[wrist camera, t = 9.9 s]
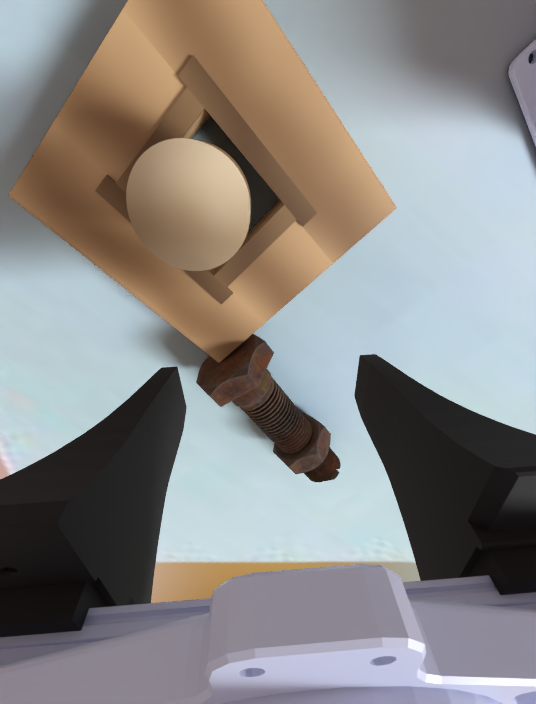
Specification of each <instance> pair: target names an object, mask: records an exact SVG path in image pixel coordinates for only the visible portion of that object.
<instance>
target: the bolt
mask: <svg viewBox="0 0 536 704" xmlns="http://www.w3.org/2000/svg"><path fill="white" fill-rule="evenodd" d="M273 354H274V352H273V351H272V350H271V348H270V347H269V346H268V345H267V343H266V342H265V341H264V340H262V339H261V338H259V337H258V336H256V335H254V334H252V335H251V336H249V337H248V338H247V339H246V340H245V341H244V342H243V343H241V344H240V345H239V346H238V347H237V348H236V349H235V350H233V351H232V352H231V353H230V354H229V355H228V356H226V357H225V358H224V359H223V360H222V361H221V362H220V363H218V362H217V361H216V360H215V359H213V358H212V357H211V356H209V357H208V358H207V359H206V360H205V361H204V362H203V364H202V366H201V368H200V370H199V373H198V377H197V382H196V383H197V384H198V385H199V386H200V387H201V388H202V389H203V390H204V391H205V392H206V393H207V394H208V395H209V396H210V397H211V398H212V399H213V400H214V401H215V402H216V403H217V404H218V405H219V406H220V407H221V406H223V405H225V404H227V403H229V402H230V401H232V402H233V403H234V404H235V405H237V406H239V407H240V408H241V409H242V410H243V411H244V412H245V413H246V414H247V415H248V416H249V417H250V418H251V419H252V420H253V422H255V423H256V425H258V427H259V428H261V430H262V431H263V432H265V434H266V435H267V436H268V437H269V438H270V439H271V440H272V441H273V442H274V449H273V452H274V453H275V454H276V455H277V456H278V457H279V458H280V459H281V460H282V461H283V462H284V463H285V464H286V465H287V466H288V467H289V468H290V469H291V470H292V471H293V472H294V473H295V474H300V473H304V474H305V475H306V476H307V477H308V478H309V479H310V480H311V481H314V482H323V481H328V480H333V479H335V478H336V477H337V476H338V474H339V472H338V470H336V469H340V460H339V458H338V457H337V456H336V454H335V453H334V452H333V451H332V450H331V449H330V447H329V446H330V437H331V434H330V433H329V431H328V430H327V429H326V428H325V426H323V425H322V424H321V423H320V422H318V421H317V420H316V419H314V418H313V417H311V416H309V415H303V414H302V413H301V412H300V411H299V410H298V408H297V407H296V406H295V405H294V403H293V402H292V401H291V400H290V399H289V397H288V396H287V395H286V394H285V393H284V391H283V390H282V389H281V388H280V386H279V385H278V384H277V383H276V381H275V380H274V379H273V378H272V376H271V374H270V372H269V371H268V370H267V369H266V368H267V366H268V364H269V362H270V360H271V358H272V356H273Z"/></svg>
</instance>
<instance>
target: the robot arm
mask: <svg viewBox="0 0 536 704" xmlns="http://www.w3.org/2000/svg"><path fill="white" fill-rule="evenodd" d="M531 52H532V54H533V60H532V62H531V63H529V62H528V58H529V55H530V53H531ZM508 73H509V78H510V81H511V83H512V86H513V88H514V91H515V94H516V96H517V99H518V101H519V104H520V107H521V109H522V112H523V115H524V117H525V120H526V122H527V125H528V128H529V130H530V133H531V136H532V138H533V141H534V143H535V146H536V39H535V40H534V41H533V42H532V43H531V44H530V45H529V46H528V47H527V48H525V49H524V50H523V51H522V52H521V53H520V54H519V55H518V56H517V57H516V58H515V59H514V60H513V61H512V63H511V65H510V67H509V71H508ZM355 399H356V403H357V406H358V409H359V412H360V415H361V418H362V420H363V423H364V425H365V427H366V429H367V431H368V433H369V435H370V437H371V440H372V442H373V444H374V446H375V448H376V450H377V452H378V454H379V456H380V458H381V460H382V463H383V465H384V467H385V469H386V472H387V474H388V477H389V480H390V482H391V485H392V488H393V491H394V494H395V497H396V500H397V503H398V506H399V509H400V512H401V515H402V518H403V521H404V524H405V527H406V531H407V534H408V537H409V541H410V544H411V547H412V551H413V554H414V557H415V561H416V565H417V568H418V572H419V576H420V579H421V581H416V582H402V580H401V577H400V576H399V575H398V574H396V573H394V572H392V571H391V570H388V569H386V568H385V567H383V566H380V565H363V564H359V565H358V564H357V565H345V566H332V567H320V568H307V569H295V570H282V571H270V572H258V573H251V574H246V575H242V576H238V577H232V578H231V579H229V580H228V581H226V582H224V583H223V584H221V585H220V586H218V587H217V588H216V589H215V590H214V591H213V595H212V598H209V599H197V600H184V601H172V602H161V603H151V595H152V586H153V577H154V569H155V562H156V554H157V546H158V540H159V533H160V527H161V520H162V514H163V508H164V502H165V496H166V491H167V487H168V482H169V479H170V475H171V472H172V468H173V465H174V461H175V457H176V454H177V450H178V447H179V443H180V440H181V436H182V432H183V428H184V421H185V414H186V403H185V399H184V395H183V390H182V386H181V381H180V377H179V373H178V368H177V367H166V368H161V369H160V370H158V371H157V372H156V373H155V374H154V375H153V376H152V377H151V378H150V379H149V380H148V381H147V382H146V383H145V384H144V385H143V386H142V387H141V388H140V389H138V390H137V391H136V392H135V393H134V394H133V395H132V396H131V397H130V398H129V399H128V400H126V401H125V402H124V403H123V404H122V405H121V406H119V407H118V408H117V409H116V410H115V411H113V412H112V413H111V414H110V415H109V416H107V417H106V418H105V419H104V420H102V421H101V422H100V423H98V424H97V425H95V426H94V427H93V428H91V429H90V430H88V431H87V432H86V433H84V434H83V435H81V436H80V437H78V438H76V439H75V440H73V441H71V442H70V443H68V444H67V445H65V446H63V447H62V448H60V449H59V450H57V451H55V452H54V453H52V454H50V455H48V456H46V457H45V458H43V459H41V460H39V461H37V462H35V463H33V464H31V465H29V466H28V467H26V468H24V469H22V470H20V471H18V472H16V473H14V474H12V475H9V476H7V477H5V478H3V479H1V480H0V704H536V435H535V434H532V433H529V432H526V431H523V430H520V429H517V428H514V427H511V426H508V425H505V424H503V423H500V422H497V421H495V420H492V419H490V418H487V417H485V416H482V415H480V414H478V413H475V412H473V411H471V410H469V409H466V408H464V407H462V406H460V405H458V404H456V403H454V402H452V401H450V400H448V399H446V398H444V397H442V396H441V395H439V394H437V393H435V392H434V391H432V390H430V389H428V388H427V387H425V386H423V385H422V384H420V383H418V382H417V381H415V380H414V379H412V378H411V377H409V376H407V375H406V374H404V373H403V372H401V371H400V370H398V369H397V368H396V367H394V366H393V365H391V364H390V363H388V362H387V361H385V360H384V359H382V358H381V357H379V356H377V355H375V354H373V355H360V358H359V366H358V374H357V381H356V389H355Z"/></svg>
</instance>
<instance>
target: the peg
mask: <svg viewBox="0 0 536 704" xmlns="http://www.w3.org/2000/svg"><path fill="white" fill-rule="evenodd" d="M126 203H127V210H128V215H129V218H130V221H131V224H132V226H133V228H134V230H135V232H136V234H137V236H138V237H139V239H140V241H141V242H142V243H143V244H144V246H145V247H146V248H147V249H148V250H149V251H150V252H151V253H152V254H153V255H154V256H156V257H157V258H158V259H160V260H161V261H163V262H165V263H166V264H168V265H171V266H173V267H176V268H179V269H182V270H187V271H204V270H209V269H212V268H216V267H218V266H220V265H222V264H224V263H225V262H227V261H228V260H229V259H230V258H232V257H233V256H234V255H235V254H236V252H237V251H238V250H239V249H240V247H241V246H242V244H243V242H244V240H245V238H246V235H247V232H248V229H249V224H250V214H251V195H250V189H249V186H248V182H247V180H246V178H245V175H244V173H243V172H242V170H241V168H240V167H239V165H238V164H237V163H236V161H235V160H234V159H233V158H232V157H231V156H230V155H229V154H228V153H226V152H225V151H224V150H222V149H221V148H219V147H218V146H215V145H213V144H211V143H208V142H205V141H201V140H194V139H187V138H174V139H168V140H165V141H162V142H159V143H157V144H155V145H153V146H152V147H150V148H149V149H148V150H146V151H145V152H144V153H143V154H142V155H141V156H140V157H139V158H138V160H137V161H136V163H135V165H134V166H133V168H132V171H131V173H130V176H129V179H128V183H127V190H126Z"/></svg>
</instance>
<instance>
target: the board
mask: <svg viewBox="0 0 536 704" xmlns="http://www.w3.org/2000/svg"><path fill="white" fill-rule="evenodd" d="M210 116H211V117H212V118H213V119H214V120H215V122H216V123H217V124H218V125H219V126H220V128H221V129H222V130H223V131H224V133H225V134H226V135H227V136H228V137H229V139H230V140H231V141H232V142H233V143H234V145H235V146H236V147H237V148H238V149H239V151H240V152H241V153H242V154H243V155H244V157H245V158H246V159H247V160H248V162H249V163H250V164H251V165H252V166H253V168H254V169H255V170H256V171H257V172H258V174H259V175H260V176H261V177H262V178H263V180H264V181H265V182H266V183H267V184H268V186H269V187H270V188H271V189H272V191H273V192H274V193H275V194H276V195H277V197H278V198H279V199H280V200H279V201H278V202H277V203H276V204H275V205H274V206H273V207H272V208H271V209H270V210H269V211H268V212H267V213H266V214H265V215H264V216H263V217H262V218H261V219H260V220H259V221H258V222H257V223H256V224H255V225H254V226H253V227H252V228H251V229H250V230H249V231H248V232H247V235H246V238H245V240H244V242H243V244H242V246H241V247H240V249H239V250H238V251H237V252H236V254H235V255H234V256H233V257H232V258H230V259H229V260H228V261H227V262H225V263H224V264H222V265H220V266H218V267H216V268H212V269H209V270H204V271H187V270H182V269H179V268H176V267H173V266H171V265H168V264H166V263H165V262H163V261H161V260H160V259H158V258H157V257H156V256H154V255H153V254H152V253H151V252H150V251H149V250H148V249H147V248H146V247H145V246H144V244H143V243H142V242H141V241H140V239H139V237H138V236H137V234H136V232H135V230H134V228H133V226H132V224H131V221H130V218H129V215H128V210H127V203H126V190H127V183H128V179H129V176H130V173H131V171H132V168H133V166H134V165H135V163H136V161H137V160H138V158H139V157H140V156H141V155H142V154H143V153H144V152H145V151H146V150H148V149H149V148H150V147H152V146H153V145H155V144H157V143H159V142H162V141H165V140H168V139H174V138H187V139H193V138H194V136H195V135H196V134H197V132H198V131H199V130H200V129H201V127H202V126H203V125H204V124H205V122H206V121H207V120H208V119H209V117H210ZM8 196H10V197H11V198H12V199H13V200H15V201H16V202H17V203H18V204H20V205H21V206H22V207H23V208H25V209H26V210H27V211H28V212H30V213H31V214H32V215H33V216H35V217H36V218H37V219H38V220H40V221H41V222H42V223H43V224H45V225H46V226H47V227H49V228H50V229H51V230H52V231H54V232H55V233H56V234H57V235H59V236H60V237H61V238H62V239H64V240H65V241H66V242H67V243H69V244H70V245H71V246H72V247H74V248H75V249H76V250H77V251H79V252H80V253H81V254H82V255H84V256H85V257H86V258H88V259H89V260H90V261H91V262H93V263H94V264H95V265H96V266H98V267H99V268H100V269H101V270H103V271H104V272H105V273H106V274H108V275H109V276H110V277H111V278H113V279H114V280H115V281H116V282H118V283H119V284H120V285H121V286H123V287H124V288H125V289H127V290H128V291H129V292H130V293H132V294H133V295H134V296H135V297H137V298H138V299H139V300H140V301H142V302H143V303H144V304H145V305H147V306H148V307H149V308H150V309H152V310H153V311H154V312H155V313H157V314H158V315H159V316H160V317H162V318H163V319H164V320H165V321H167V322H168V323H169V324H171V325H172V326H173V327H174V328H176V329H177V330H178V331H179V332H181V333H182V334H183V335H184V336H186V337H187V338H188V339H189V340H191V341H192V342H193V343H194V344H196V345H197V346H198V347H199V348H201V349H202V350H203V351H204V352H206V353H207V354H208V355H210V356H211V357H212V358H213V359H215V360H216V361H217V362H218V363H220V362H221V361H222V360H223V359H224V358H225V357H226V356H228V355H229V354H230V353H231V352H232V351H233V350H235V349H236V348H237V347H238V346H239V345H240V344H241V343H243V342H244V341H245V340H246V339H247V338H248V337H249V336H251V335H252V334H253V333H254V332H255V331H256V330H257V329H259V328H260V327H261V326H262V325H263V324H264V323H265V322H267V321H268V320H269V319H270V318H271V317H272V316H273V315H275V314H276V313H277V312H278V311H279V310H280V309H281V308H283V307H284V306H285V305H286V304H287V303H288V302H290V301H291V300H292V299H293V298H294V297H295V296H296V295H298V294H299V293H300V292H301V291H302V290H303V289H304V288H306V287H307V286H308V285H309V284H310V283H311V282H312V281H314V280H315V279H316V278H317V277H318V276H319V275H320V274H322V273H323V272H324V271H325V270H326V269H327V268H328V267H330V266H331V265H332V264H333V263H334V262H335V261H336V260H338V259H339V258H340V257H341V256H342V255H343V254H345V253H346V252H347V251H348V250H349V249H350V248H351V247H353V246H354V245H355V244H356V243H357V242H358V241H359V240H361V239H362V238H363V237H364V236H365V235H366V234H367V233H369V232H370V231H371V230H372V229H373V228H374V227H375V226H377V225H378V224H379V223H380V222H381V221H382V220H383V219H385V218H386V217H387V216H388V215H389V214H390V213H391V212H393V211H394V210H395V209H396V208H397V207H396V206H395V204H394V203H393V201H392V199H391V198H390V196H389V195H388V193H387V192H386V190H385V189H384V187H383V186H382V184H381V182H380V181H379V179H378V178H377V176H376V175H375V173H374V172H373V170H372V169H371V167H370V165H369V164H368V162H367V161H366V159H365V158H364V156H363V155H362V153H361V152H360V150H359V148H358V147H357V145H356V144H355V142H354V141H353V139H352V138H351V136H350V135H349V133H348V132H347V130H346V128H345V127H344V125H343V124H342V122H341V121H340V119H339V118H338V116H337V115H336V113H335V111H334V110H333V108H332V107H331V105H330V104H329V102H328V101H327V99H326V98H325V96H324V94H323V93H322V91H321V90H320V88H319V87H318V85H317V84H316V82H315V81H314V79H313V77H312V76H311V74H310V73H309V71H308V70H307V68H306V67H305V65H304V64H303V62H302V60H301V59H300V57H299V56H298V54H297V53H296V51H295V50H294V48H293V47H292V45H291V43H290V42H289V40H288V39H287V37H286V36H285V34H284V33H283V31H282V30H281V28H280V26H279V25H278V23H277V22H276V20H275V19H274V17H273V16H272V14H271V13H270V11H269V9H268V8H267V6H266V5H265V3H264V2H263V0H128V1H127V3H126V4H125V6H124V8H123V9H122V11H121V13H120V14H119V16H118V17H117V19H116V21H115V22H114V24H113V26H112V27H111V29H110V31H109V32H108V34H107V35H106V37H105V39H104V40H103V42H102V44H101V45H100V47H99V48H98V50H97V52H96V53H95V55H94V57H93V58H92V60H91V61H90V63H89V65H88V66H87V68H86V70H85V71H84V73H83V75H82V76H81V78H80V79H79V81H78V83H77V84H76V86H75V88H74V89H73V91H72V92H71V94H70V96H69V97H68V99H67V101H66V102H65V104H64V106H63V107H62V109H61V110H60V112H59V114H58V115H57V117H56V119H55V120H54V122H53V123H52V125H51V127H50V128H49V130H48V132H47V133H46V135H45V136H44V138H43V140H42V141H41V143H40V145H39V146H38V148H37V150H36V151H35V153H34V154H33V156H32V158H31V159H30V161H29V163H28V164H27V166H26V167H25V169H24V171H23V172H22V174H21V176H20V177H19V179H18V180H17V182H16V184H15V185H14V187H13V189H12V190H11V192H10V194H9V195H8Z"/></svg>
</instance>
